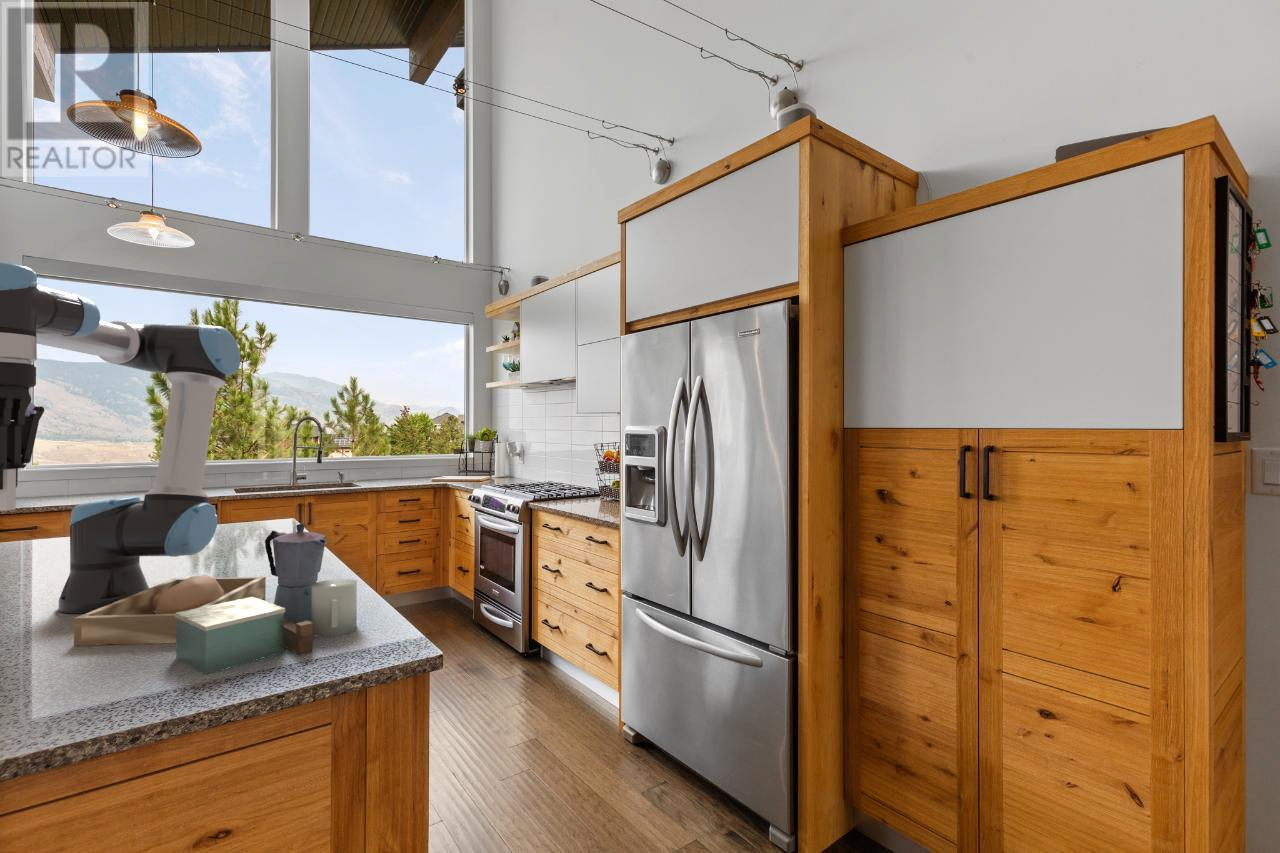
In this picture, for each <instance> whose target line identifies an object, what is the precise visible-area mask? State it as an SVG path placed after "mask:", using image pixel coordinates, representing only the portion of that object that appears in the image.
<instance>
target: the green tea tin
mask: <svg viewBox="0 0 1280 853" xmlns="http://www.w3.org/2000/svg"><path fill="white" fill-rule="evenodd" d="M284 612H285V608H283V607H280V606H278V605H275V604H274V603H271V602H269V601H267V600H265V599H264V600H261V599H258V598H255V597H249V598H244V599H239V600H234V601H230V602H225V603H220V604H215V605H210V606H206V607H201V608H196V609H191V610H186V611H182V612H177V613H175V617H176V643H175V647H176V648H175V659H177V660H179V661H181V662H182V663H184V664H186V665H187V666H188V667H191V668H192V669H195V671H198V672H200V673H201V672H202V674H203V675H205V676H206V675H210V673H211V674H213V673H214V674H215V673H217V672H220V670H221V671H223V670H222V669H224V670H227V669H226V668H228V667H231V668H234V667H233V666H235V667H237V666H236V665H238V666H241V665H240V664H242V665H244V664H243V663H245V664H248V663H247V662H249V663H251V662H250V661H252V662H254V661H253V660H255V661H257V660H256V659H259V660H261V659H260V658H262V657H266V658H268V657H267V656H269V657H272V656H271V655H273V656H275V655H274V654H276V655H279V654H278V653H280V654H282V652H283V653H284V648H285V647H284ZM262 659H263V658H262ZM228 669H229V668H228ZM216 671H217V672H216Z"/></svg>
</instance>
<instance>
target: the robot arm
mask: <svg viewBox="0 0 1280 853" xmlns="http://www.w3.org/2000/svg"><path fill="white" fill-rule="evenodd" d="M37 345H42V346H47V347H52V348H57V349H62V350H67V351H71V352H76V353H81V354H82V353H83V354H87V355H92V356H97V357H99V358H100V359H102V361H104V362H107V363H109V364H113V365H114V364H115V365H119V366H123V367H127V368H131V369H137V370H140V371H145V372H149V373H150V372H151V373H157V374H164V376H165V377H164V378H166V379H167V380H168V381H169V383H171V389H170V395H169V400H168V406H167V411H166V412H167V413H166V418H165V425H164V431H163V435H162V436H163V437H162V441H161V442H162V443H161V449H160V456H159V459H158V467H157V473H156V479H155V485H154V487H153V488H151V489H149V491H147V492H146V493H145V494H144V497H143V503H142V500H141V498H140V496H127V497H119V498H113V499H111V498H110V499H106V500H105V499H104V500H97V501H91V502H85V503H80V504H77V505H75V506H74V507H73V508H72V509H71V512H70V523H69V524H68V526H69V546H70V547H69V555H70V556H69V563H70V564H69V573H68V577H67V579H66V582H65V584H64V587H63V588H62V591H61V594H60V596H59V599H58V611H59V612H61V613H65V614H86V613H89V612H91V611H94V610H96V609H99V608H101V607H104V606H106V605H109V604H111V603H114V602H116V601H119V600H121V599H124V598H126V597H129V596H132V595H134V594H137V593H139V592H142V591H144V590H147V589H149V588H150V587H149V585H148V583H147V579H146V577H145V575H144V572H143V570H142V568H141V564H140V557H172V558H173V557H174V558H175V557H181V556H192V555H197V554H198V553H200V552H201V551H203V550H204V549H206V547H207V546H208V545H209V544H210V543H211V541H212V540H213V538H214V535H215V533H216V530H217V528H218V519H219V518H218V517H219V516H218V515H217V509H216V508H215V507H214V505H213V504H210V503H209V496H208V495H207V494H206V492H205V491H204V490H203V483H204V479H205V478H204V476H205V471H206V464H207V457H208V449H209V443H210V439H211V438H210V436H211V430H212V422H213V417H214V409H215V403H216V395H217V391H218V390H220V389H221V388H223V387H225V386H226V380H227V376H232V375H234V374H236V373H237V372H238V370H239V369H240V366H241V365H240V364H241V353H240V352H241V351H240V348H239V345H238V343H237V340H236V338H235V337H234V335H233V334H232V333H231V332H230V331H229V330H228V329H226V328H225V327H223V326H219V325H208V324H201V325H200V324H162V323H161V324H160V323H155V324H153V323H151V324H150V323H149V324H148V323H147V324H145V323H144V324H142V323H139V324H138V323H136V324H135V323H128V322H124V321H120V320H119V321H118V320H117V321H114V320H113V321H110V322H109V321H108V322H107V321H103V320H101V312H100V310H99V307H98V306H97V305H96V304H95V303H94V302H93V301H92V300H90V299H88V298H86V297H84V296H80V295H78V294H76V293H74V292H66V291H63V290H56V289H54V288H50V287H45V286H41V285H39V280H38V277H37V273H36V271H34V269H32V268H30V267H28V266H24V265H20V264H15V263H9V262H4V261H3V262H1V261H0V511H1V512H2V511H3V512H4V511H5V512H7V511H13V510H14V511H15V510H16V509H17V508H16V506H17V505H16V498H17V496H16V494H17V492H16V491H17V488H18V484H19V483H18V482H19V480H18V476H19V475H18V472H19V469H25V468H26V467H27V464H30V463H31V461H32V456H33V451H34V446H35V442H36V437H37V433H38V428H39V424H40V419H41V418H42V417H43V414H44V412H45V407H44V406H39V405H37V406H36V405H35V404H34V403H33V402H32V396H31V393H30V391H29V390H30V389H31V388H34V387H36V385H37V367H36V366H35V364H32V362H36V361H38V360H37V358H38V357H37V356H38V354H37V348H38V347H37Z"/></svg>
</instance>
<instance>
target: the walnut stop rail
mask: <svg viewBox="0 0 1280 853" xmlns="http://www.w3.org/2000/svg"><path fill="white" fill-rule="evenodd" d="M313 642H314V635H313V623H312V622H310V621H304V622H300V623H296V624H294V623H292V622H290V621H288V620H285V619H284V648H286V649H288V650H290V651H292V653H293V652H294V653H295V654H297V655H299V656H305V655H308V654H312V653H313V651H314V646H313V645H314V643H313ZM311 652H312V653H311ZM307 653H308V654H307Z"/></svg>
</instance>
